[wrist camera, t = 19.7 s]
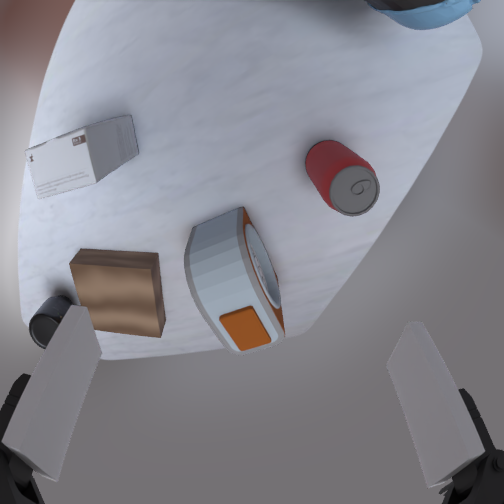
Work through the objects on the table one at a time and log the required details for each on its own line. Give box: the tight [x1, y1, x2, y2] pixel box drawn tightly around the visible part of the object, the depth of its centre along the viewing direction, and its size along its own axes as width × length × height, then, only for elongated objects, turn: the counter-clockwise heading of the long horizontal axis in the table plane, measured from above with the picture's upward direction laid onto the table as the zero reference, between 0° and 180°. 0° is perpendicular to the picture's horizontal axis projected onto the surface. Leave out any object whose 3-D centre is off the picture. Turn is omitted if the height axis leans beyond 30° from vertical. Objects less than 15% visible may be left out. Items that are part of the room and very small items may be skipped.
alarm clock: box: [184, 207, 285, 355], centre depth 42 cm, size 15×8×14 cm, turn 23°
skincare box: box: [25, 115, 139, 199], centre depth 32 cm, size 8×6×15 cm
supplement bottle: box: [29, 295, 73, 349], centre depth 46 cm, size 7×7×12 cm
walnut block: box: [69, 249, 166, 338], centre depth 49 cm, size 14×14×5 cm
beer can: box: [305, 140, 380, 216], centre depth 36 cm, size 7×7×12 cm
